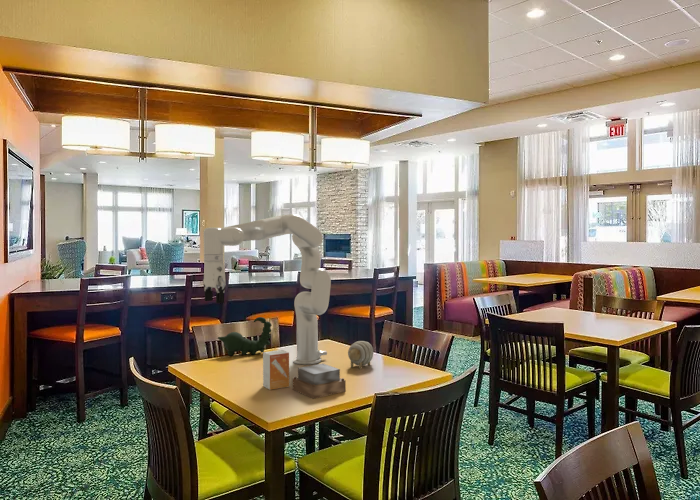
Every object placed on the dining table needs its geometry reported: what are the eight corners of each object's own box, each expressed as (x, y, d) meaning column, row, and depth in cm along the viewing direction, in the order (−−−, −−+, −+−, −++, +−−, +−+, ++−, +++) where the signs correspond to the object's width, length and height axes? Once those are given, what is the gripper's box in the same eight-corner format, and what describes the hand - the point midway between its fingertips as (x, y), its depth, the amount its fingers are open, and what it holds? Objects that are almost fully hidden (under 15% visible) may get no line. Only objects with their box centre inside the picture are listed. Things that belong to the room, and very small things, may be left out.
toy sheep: (341, 369, 218) (341, 343, 217) (358, 360, 233) (358, 336, 232) (364, 372, 213) (363, 345, 213) (380, 363, 228) (380, 338, 228)
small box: (269, 390, 188) (269, 355, 188) (262, 386, 193) (262, 352, 193) (289, 386, 193) (289, 352, 192) (282, 382, 198) (282, 349, 198)
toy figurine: (267, 354, 255) (215, 353, 248) (270, 316, 255) (218, 314, 248) (270, 358, 246) (216, 357, 239) (273, 318, 246) (219, 316, 239)
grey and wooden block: (324, 382, 198) (324, 362, 197) (345, 391, 186) (345, 369, 186) (292, 389, 189) (292, 367, 189) (313, 398, 178) (312, 375, 178)
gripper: (232, 259, 199) (233, 303, 199) (212, 257, 212) (213, 299, 212) (214, 259, 194) (215, 304, 195) (195, 258, 207) (195, 300, 208)
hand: (214, 301), depth 203 cm, fingers open, 9 cm apart
